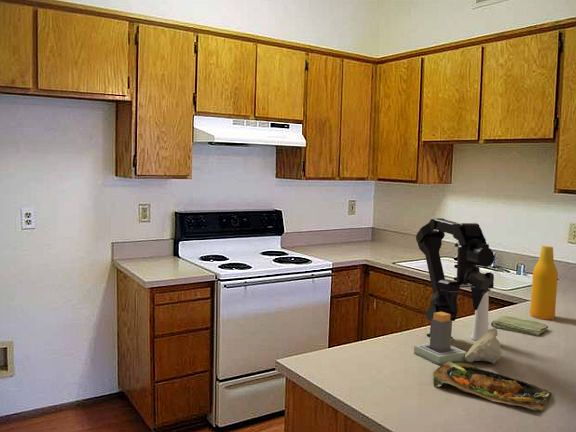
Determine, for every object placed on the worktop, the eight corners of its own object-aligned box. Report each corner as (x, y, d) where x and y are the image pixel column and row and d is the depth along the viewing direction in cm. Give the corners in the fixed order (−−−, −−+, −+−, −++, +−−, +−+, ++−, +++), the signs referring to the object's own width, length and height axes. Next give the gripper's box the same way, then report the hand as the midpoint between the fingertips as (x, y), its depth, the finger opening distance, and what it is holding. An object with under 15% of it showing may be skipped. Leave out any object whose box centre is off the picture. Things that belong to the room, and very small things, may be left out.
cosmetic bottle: (493, 341, 182) (497, 278, 180) (478, 342, 180) (482, 278, 178) (482, 336, 188) (485, 274, 186) (467, 337, 186) (471, 275, 184)
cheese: (486, 378, 154) (523, 344, 156) (468, 357, 155) (505, 324, 157) (470, 374, 169) (504, 344, 171) (454, 356, 170) (488, 326, 172)
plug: (429, 353, 165) (431, 312, 164) (438, 351, 168) (441, 311, 167) (440, 357, 162) (442, 316, 161) (450, 355, 164) (452, 314, 163)
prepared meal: (553, 379, 140) (540, 400, 126) (553, 392, 140) (540, 415, 126) (448, 358, 156) (426, 375, 142) (448, 370, 157) (426, 388, 142)
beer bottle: (559, 320, 212) (564, 248, 209) (535, 319, 212) (540, 247, 209) (548, 314, 221) (553, 245, 218) (525, 313, 221) (530, 244, 219)
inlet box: (414, 353, 167) (414, 345, 167) (440, 348, 172) (440, 341, 172) (438, 365, 157) (439, 356, 157) (465, 360, 162) (466, 351, 162)
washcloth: (539, 338, 188) (540, 329, 188) (489, 328, 199) (489, 319, 199) (548, 330, 199) (549, 322, 198) (500, 321, 210) (500, 313, 209)
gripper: (462, 267, 157) (460, 319, 158) (508, 264, 166) (506, 314, 166) (437, 262, 167) (435, 311, 168) (481, 260, 176) (479, 306, 176)
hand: (464, 310), depth 169 cm, fingers open, 9 cm apart
